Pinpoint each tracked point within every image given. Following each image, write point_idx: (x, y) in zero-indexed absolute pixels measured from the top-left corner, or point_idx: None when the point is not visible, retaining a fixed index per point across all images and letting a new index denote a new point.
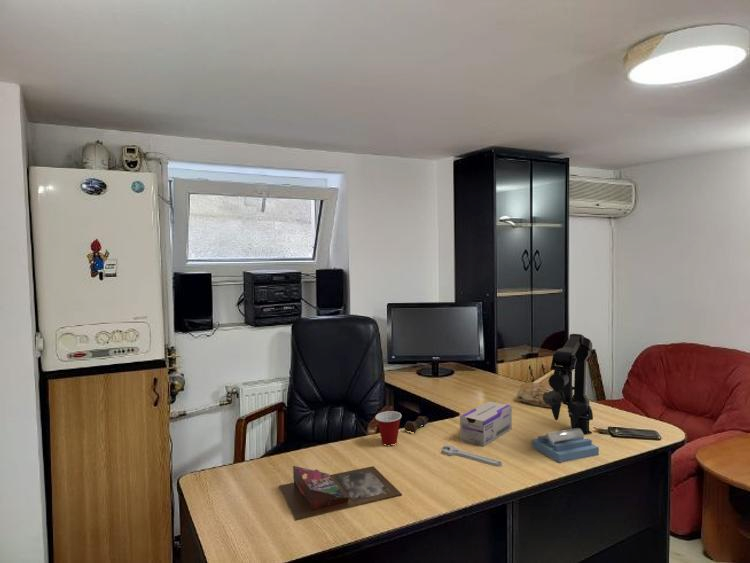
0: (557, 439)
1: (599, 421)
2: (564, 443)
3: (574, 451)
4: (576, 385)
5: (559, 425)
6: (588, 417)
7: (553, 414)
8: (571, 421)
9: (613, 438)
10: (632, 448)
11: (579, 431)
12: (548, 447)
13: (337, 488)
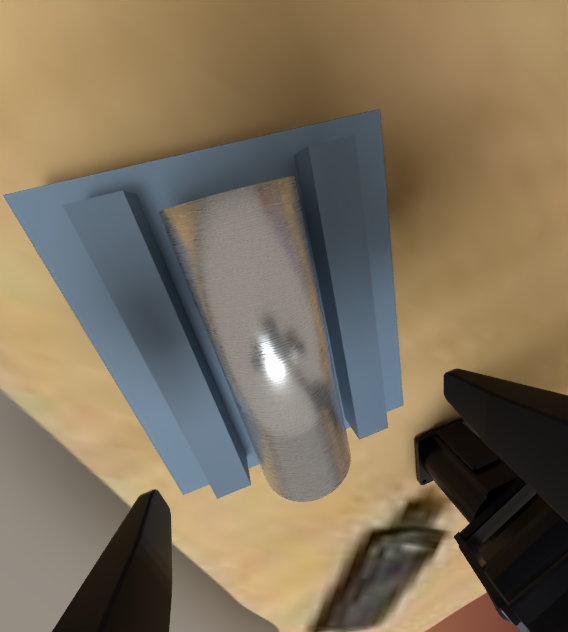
0: (180, 263)
1: None
2: (154, 311)
3: (101, 349)
4: None
5: None
6: (469, 552)
7: (542, 395)
8: (77, 622)
9: (353, 532)
10: (251, 571)
11: (283, 483)
12: (194, 174)
13: None
